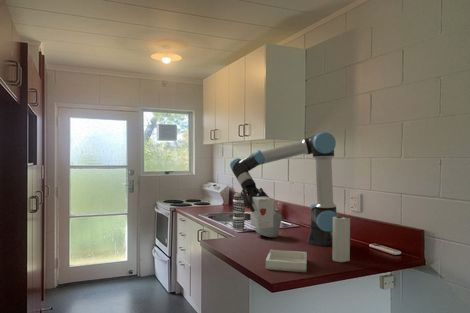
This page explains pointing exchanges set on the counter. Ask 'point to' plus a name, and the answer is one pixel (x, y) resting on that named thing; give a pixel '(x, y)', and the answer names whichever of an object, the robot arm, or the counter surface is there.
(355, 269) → the counter surface
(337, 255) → the paper towel roll
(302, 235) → the counter surface
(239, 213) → the decorative candle
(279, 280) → the counter surface
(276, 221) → the jar
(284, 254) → the ceramic dish
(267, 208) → the supplement box
